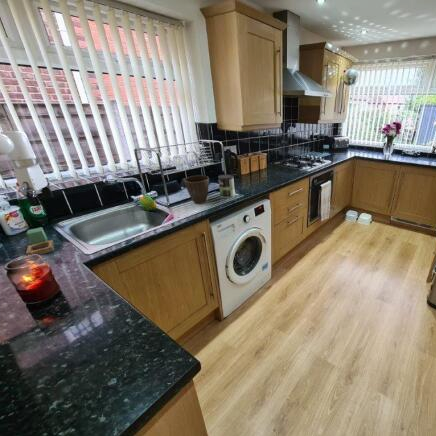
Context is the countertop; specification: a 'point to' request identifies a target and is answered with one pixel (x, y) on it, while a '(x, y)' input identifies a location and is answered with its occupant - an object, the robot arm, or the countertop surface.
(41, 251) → the base pad
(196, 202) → the flower pot
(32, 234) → the green pad
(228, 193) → the coffee can
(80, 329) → the countertop surface
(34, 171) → the robot arm
